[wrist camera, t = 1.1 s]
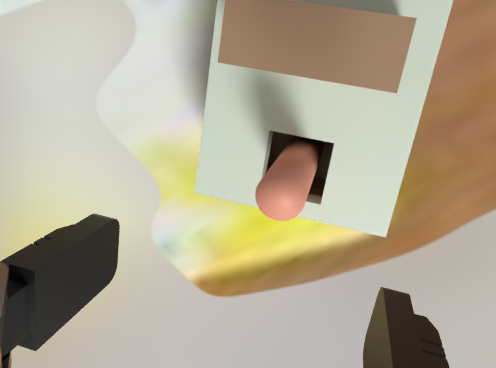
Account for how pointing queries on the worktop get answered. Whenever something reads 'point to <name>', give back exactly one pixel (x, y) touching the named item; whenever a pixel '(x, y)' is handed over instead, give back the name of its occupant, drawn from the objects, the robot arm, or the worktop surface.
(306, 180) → the rounded rod
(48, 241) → the robot arm
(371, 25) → the lid
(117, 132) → the worktop surface
